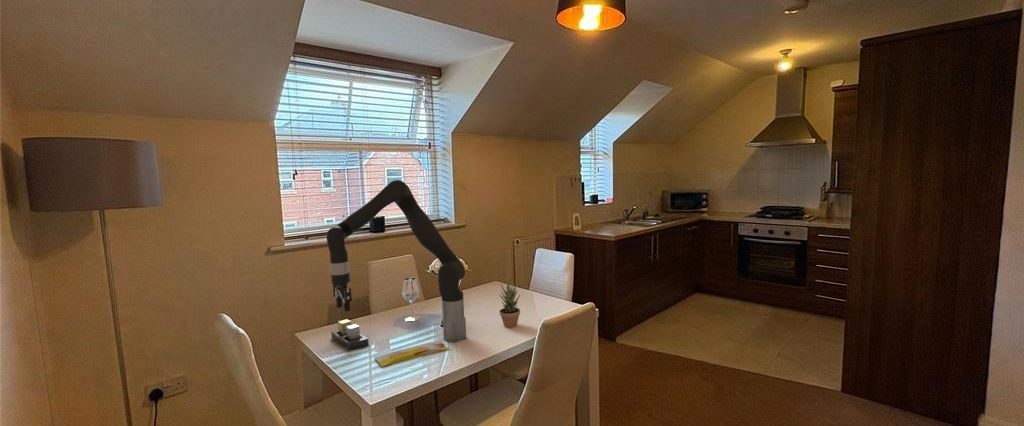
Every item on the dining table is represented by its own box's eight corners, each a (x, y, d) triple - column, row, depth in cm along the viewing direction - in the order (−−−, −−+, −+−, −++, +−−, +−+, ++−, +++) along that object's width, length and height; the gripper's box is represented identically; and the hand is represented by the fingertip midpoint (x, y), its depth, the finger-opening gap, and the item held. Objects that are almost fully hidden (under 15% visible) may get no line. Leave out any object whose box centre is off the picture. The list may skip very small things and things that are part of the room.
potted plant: (504, 321, 204) (502, 270, 202) (523, 323, 201) (521, 271, 198) (496, 328, 195) (494, 275, 192) (516, 330, 191) (514, 276, 189)
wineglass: (418, 321, 208) (415, 280, 206) (402, 321, 208) (399, 281, 206) (421, 315, 216) (419, 276, 214) (406, 316, 216) (404, 277, 214)
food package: (381, 363, 159) (373, 354, 167) (381, 369, 159) (374, 360, 167) (449, 345, 173) (439, 338, 182) (449, 351, 173) (439, 343, 182)
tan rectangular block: (352, 339, 188) (350, 321, 187) (342, 341, 186) (341, 323, 185) (348, 336, 191) (347, 319, 190) (339, 339, 188) (337, 321, 188)
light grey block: (360, 344, 182) (359, 326, 181) (351, 347, 179) (349, 328, 178) (356, 342, 185) (355, 323, 184) (347, 344, 182) (346, 326, 181)
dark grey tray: (368, 345, 180) (368, 338, 180) (349, 351, 175) (349, 344, 175) (349, 333, 195) (349, 326, 195) (331, 338, 190) (331, 331, 190)
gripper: (355, 273, 183) (358, 310, 184) (342, 268, 193) (345, 303, 195) (337, 276, 178) (341, 314, 179) (325, 271, 188) (328, 307, 190)
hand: (343, 309), depth 187 cm, fingers open, 8 cm apart
